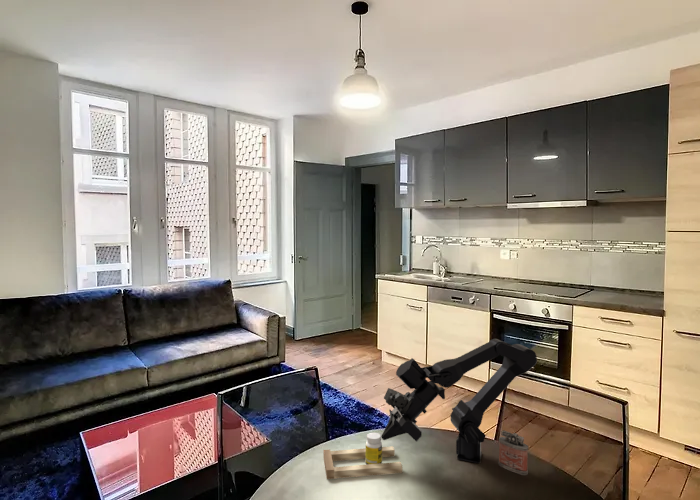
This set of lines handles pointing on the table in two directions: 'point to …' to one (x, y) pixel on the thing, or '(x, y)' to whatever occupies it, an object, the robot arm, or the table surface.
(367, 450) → the supplement bottle
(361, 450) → the cradle
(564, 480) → the table surface
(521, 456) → the lighter
